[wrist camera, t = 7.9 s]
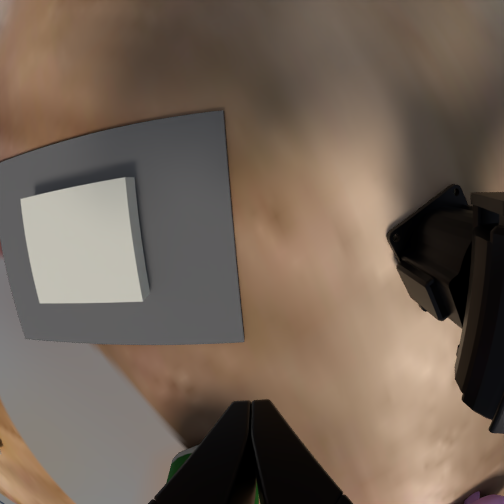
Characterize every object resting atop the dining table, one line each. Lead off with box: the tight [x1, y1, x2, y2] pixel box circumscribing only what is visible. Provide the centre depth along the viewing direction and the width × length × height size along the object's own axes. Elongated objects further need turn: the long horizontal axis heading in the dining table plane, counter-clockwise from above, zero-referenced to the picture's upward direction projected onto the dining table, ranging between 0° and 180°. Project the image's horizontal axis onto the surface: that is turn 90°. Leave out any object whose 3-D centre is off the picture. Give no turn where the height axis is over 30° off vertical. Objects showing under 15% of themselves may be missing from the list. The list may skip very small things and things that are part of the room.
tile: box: [20, 177, 150, 303], centre depth 17 cm, size 2×7×8 cm
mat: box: [0, 110, 244, 345], centre depth 18 cm, size 18×14×1 cm
